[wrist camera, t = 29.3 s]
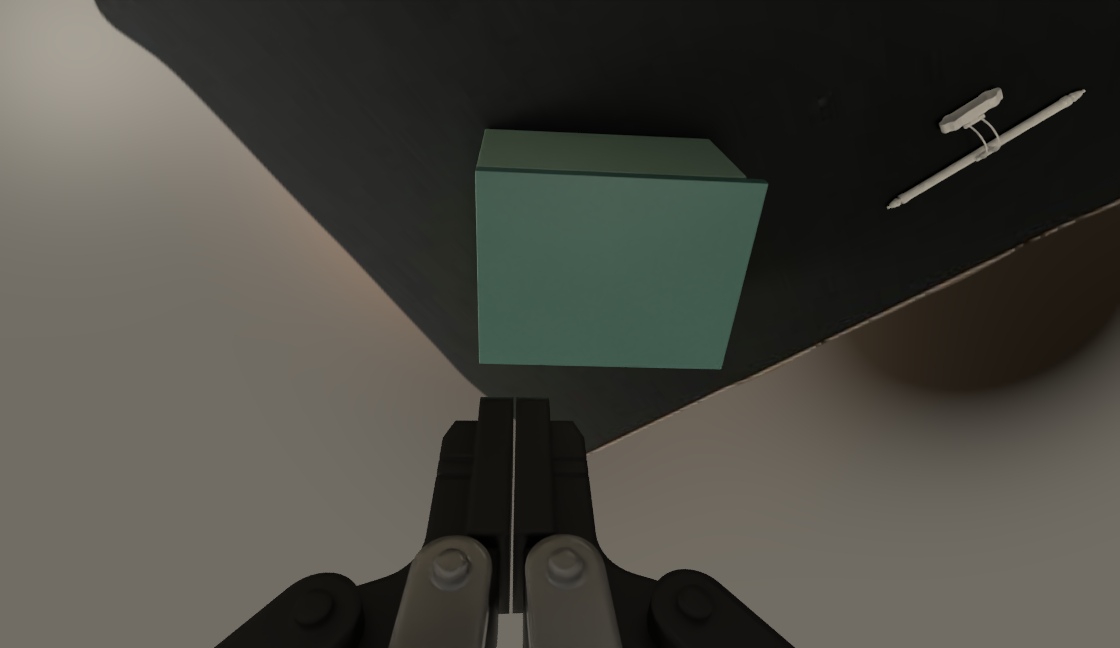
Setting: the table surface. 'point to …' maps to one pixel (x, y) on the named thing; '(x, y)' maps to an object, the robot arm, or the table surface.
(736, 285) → the lid
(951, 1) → the table surface
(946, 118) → the picture light
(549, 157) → the storage box
